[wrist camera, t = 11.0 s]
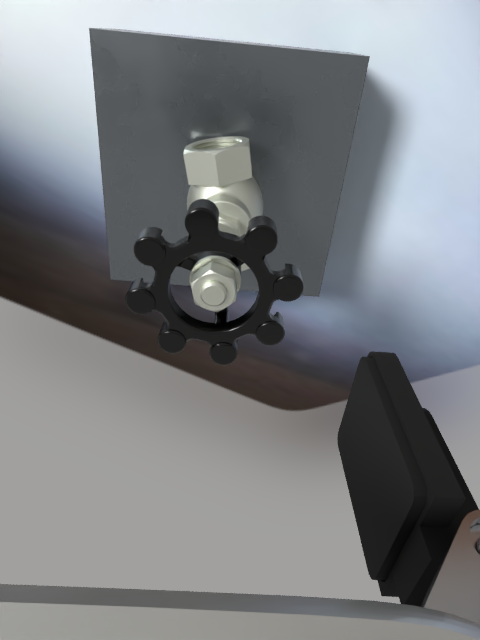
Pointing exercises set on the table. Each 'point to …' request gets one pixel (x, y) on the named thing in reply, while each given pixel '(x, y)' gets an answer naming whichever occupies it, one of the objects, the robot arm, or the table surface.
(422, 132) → the table surface
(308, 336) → the table surface
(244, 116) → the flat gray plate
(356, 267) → the table surface
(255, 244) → the valve
